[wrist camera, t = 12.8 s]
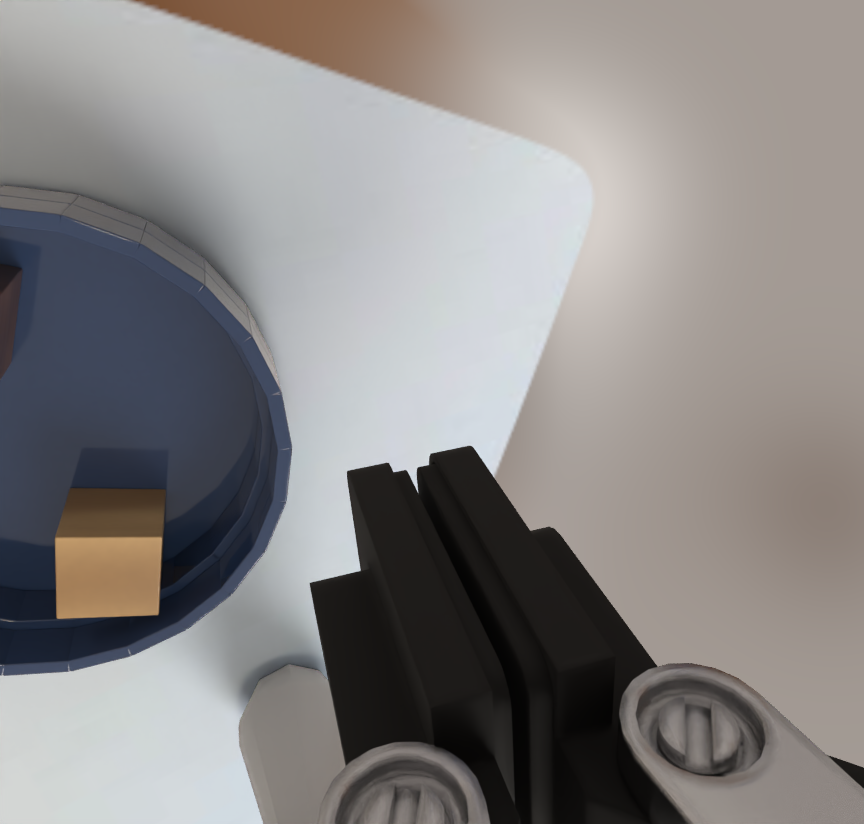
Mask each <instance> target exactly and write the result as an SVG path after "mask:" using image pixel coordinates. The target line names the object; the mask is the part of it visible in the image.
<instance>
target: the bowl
mask: <svg viewBox="0 0 864 824" xmlns="http://www.w3.org/2000/svg"><path fill="white" fill-rule="evenodd" d="M0 264H4V265H8V266H13V267H18V268H21V269H22V270H23V271H22V279H21V288H20V296H19V304H18V312H17V320H16V328H15V336H14V344H13V352H12V360H11V364H10V365H9V367H8V368H7V370H6V372H5V373H4V375H3V376H2V378H1V380H0V676H2V675H4V676H8V675H24V674H40V673H56V672H69V671H75V670H79V669H83V668H87V667H91V666H94V665H98V664H102V663H106V662H110V661H114V660H118V659H122V658H126V657H130V656H132V655H135V654H137V653H139V652H141V651H143V650H146V649H148V648H150V647H152V646H154V645H156V644H158V643H160V642H162V641H164V640H166V639H169V638H171V637H173V636H175V635H177V634H179V633H181V632H183V631H185V630H186V629H188V628H190V627H191V626H192V625H193V624H195V623H196V622H197V621H199V620H200V619H201V618H202V617H204V616H205V615H206V614H208V613H209V612H210V611H211V610H213V609H214V608H215V607H217V606H218V605H219V604H220V603H222V602H223V601H224V600H226V599H227V598H228V597H229V596H231V594H233V592H234V591H235V590H236V589H237V587H238V586H239V585H240V583H241V582H242V581H243V580H244V578H245V577H246V576H247V575H248V573H249V572H250V571H251V569H252V568H253V567H254V566H255V564H256V563H257V562H258V561H259V559H260V558H261V557H262V556H263V554H264V553H265V551H266V550H267V548H268V545H269V543H270V540H271V538H272V536H273V533H274V531H275V528H276V526H277V524H278V521H279V519H280V517H281V514H282V512H283V509H284V507H285V505H286V501H287V493H288V483H289V474H290V465H291V455H292V444H291V438H290V433H289V428H288V423H287V418H286V413H285V407H284V402H283V397H282V392H281V388H280V384H279V380H278V376H277V372H276V369H275V365H274V361H273V357H272V354H271V352H270V350H269V348H268V346H267V344H266V342H265V340H264V338H263V336H262V334H261V332H260V330H259V328H258V326H257V324H256V322H255V320H254V318H253V316H252V314H251V313H250V311H249V309H248V307H247V305H246V304H245V302H244V301H243V300H242V299H241V298H240V297H239V296H238V295H237V293H236V292H235V291H234V290H233V289H232V288H231V287H230V286H229V285H228V283H227V282H226V281H225V280H224V279H223V278H222V277H221V276H220V275H219V273H218V272H217V271H216V270H215V269H214V268H213V267H212V266H211V265H210V264H209V262H208V261H207V260H206V259H204V258H203V257H202V256H201V255H199V254H198V253H196V252H195V251H193V250H192V249H190V248H189V247H187V246H186V245H184V244H183V243H181V242H180V241H178V240H177V239H175V238H174V237H172V236H171V235H169V234H168V233H166V232H165V231H163V230H162V229H160V228H159V227H158V226H156V225H155V224H153V223H152V222H150V221H147V220H146V219H144V218H141V217H138V216H136V215H133V214H130V213H127V212H125V211H122V210H119V209H117V208H114V207H111V206H109V205H106V204H103V203H101V202H98V201H95V200H92V199H90V198H87V197H84V196H79V195H78V194H72V193H64V192H56V191H47V190H39V189H31V188H23V187H15V186H7V185H5V186H2V185H1V186H0ZM70 488H108V489H165V490H166V501H165V523H164V545H163V565H162V579H161V592H160V606H159V614H158V615H148V616H121V617H93V618H66V619H57V617H56V574H55V536H56V533H57V529H58V526H59V523H60V519H61V516H62V513H63V510H64V506H65V503H66V500H67V497H68V493H69V490H70Z"/></svg>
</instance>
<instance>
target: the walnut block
mask: <svg viewBox="0 0 864 824" xmlns="http://www.w3.org/2000/svg"><path fill="white" fill-rule="evenodd" d="M22 271H23V270H22V269H21V268H18V267H13V266H8V265H4V264H0V380H1V378H2V376H3V375H4V373H5V372H6V370H7V368H8V367H9V365H10V364H11V360H12V352H13V344H14V336H15V328H16V320H17V312H18V304H19V296H20V288H21V279H22Z"/></svg>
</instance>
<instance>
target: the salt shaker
mask: <svg viewBox="0 0 864 824" xmlns="http://www.w3.org/2000/svg"><path fill="white" fill-rule="evenodd" d="M239 745H240V749H241V752H242V756H243V759H244V762H245V765H246V769H247V772H248V775H249V778H250V782H251V785H252V788H253V791H254V795H255V798H256V801H257V804H258V808H259V811H260V814H261V817H262V820H263V824H317V821H318V815H319V810H320V804H321V801H322V800H323V798H324V796H325V794H326V792H327V790H328V788H329V786H330V784H331V782H332V780H333V779H334V778H335V777H336V776H337V775H338V774H339V773H340V772H341V771H342V770H343V769H344V768H345V767H346V766H345V761H344V756H343V751H342V746H341V741H340V736H339V731H338V726H337V721H336V716H335V711H334V706H333V701H332V696H331V691H330V686H329V681H328V680H327V679H326V678H325V676H324V675H323V674H322V673H321V672H320V671H319V670H315V669H310V668H305V667H300V666H295V665H290V664H288V665H286V666H284V667H283V668H281V669H279V670H277V671H275V672H273V673H271V674H270V675H268V676H266V677H264V678H262V679H260V680H259V681H258V684H257V686H256V688H255V690H254V692H253V694H252V696H251V698H250V700H249V702H248V704H247V706H246V708H245V710H244V712H243V714H242V717H241V719H240V722H239Z"/></svg>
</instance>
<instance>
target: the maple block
mask: <svg viewBox="0 0 864 824" xmlns="http://www.w3.org/2000/svg"><path fill="white" fill-rule="evenodd" d="M165 501H166V490H165V489H108V488H70V490H69V493H68V497H67V500H66V503H65V506H64V510H63V513H62V516H61V519H60V523H59V526H58V529H57V533H56V536H55V574H56V617H57V619H66V618H93V617H121V616H148V615H158V614H159V606H160V592H161V579H162V565H163V545H164V523H165Z"/></svg>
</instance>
